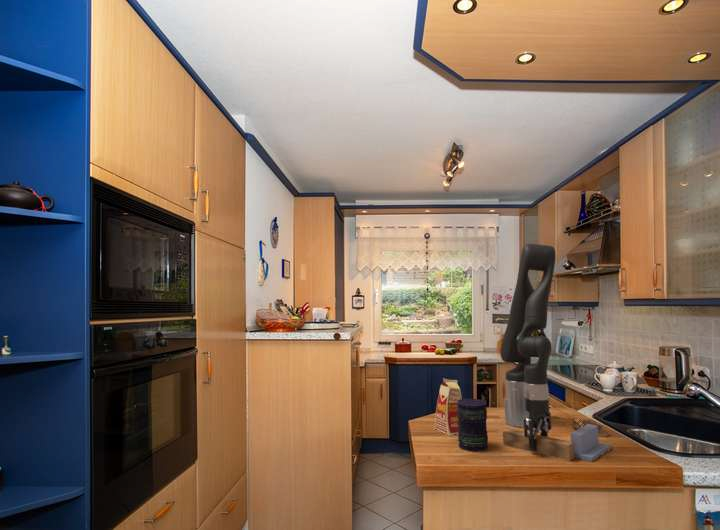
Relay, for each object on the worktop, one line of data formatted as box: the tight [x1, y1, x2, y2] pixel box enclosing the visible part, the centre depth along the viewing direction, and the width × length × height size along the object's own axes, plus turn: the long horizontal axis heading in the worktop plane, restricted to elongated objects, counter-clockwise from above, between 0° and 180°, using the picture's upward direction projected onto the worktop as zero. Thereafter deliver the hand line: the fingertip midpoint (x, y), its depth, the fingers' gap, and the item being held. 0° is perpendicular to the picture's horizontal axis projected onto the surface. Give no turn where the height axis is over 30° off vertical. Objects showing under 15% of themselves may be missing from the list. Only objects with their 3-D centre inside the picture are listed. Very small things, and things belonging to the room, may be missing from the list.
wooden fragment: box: [573, 418, 612, 438], centre depth 170 cm, size 26×11×1 cm, turn 169°
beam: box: [502, 428, 575, 462], centre depth 146 cm, size 22×4×5 cm, turn 44°
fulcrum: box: [570, 424, 612, 463], centre depth 145 cm, size 10×16×7 cm, turn 132°
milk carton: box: [434, 377, 463, 436], centre depth 170 cm, size 9×9×20 cm
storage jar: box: [457, 398, 489, 453], centre depth 152 cm, size 10×10×15 cm
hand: (538, 447), depth 146 cm, fingers open, 7 cm apart
